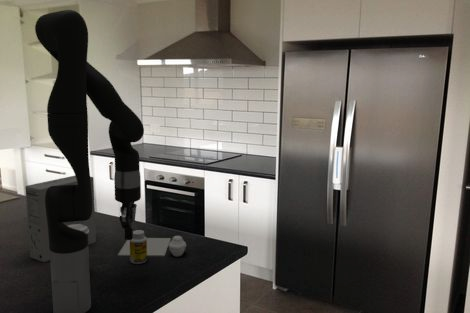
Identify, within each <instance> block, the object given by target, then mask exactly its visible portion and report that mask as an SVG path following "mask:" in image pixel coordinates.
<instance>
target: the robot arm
mask: <svg viewBox="0 0 470 313" xmlns="http://www.w3.org/2000/svg"><path fill="white" fill-rule="evenodd" d="M34 30H35V35H36V38H37V40H38V41H39V43H40V44H41V45H42V46H43V48H44V49H45V50H46V51H47V52H48V53H49V54H50V55H51V56H52V57H53V58H54V60H56V61H57V63H58V64H57V66H58V67H57V74H56V77H55V81H54V84H53V86H52V88H51V91H50V94H49V97H48V101H47V106H46V113H47V114H46V116H47V131H48V132H47V133H48V135H49V137H50V139H51V140H52V141H53V144H54V145H55V146H56V147H57V149H58V150H59V151H60V153H61V154H62V155H63V156H64V157H65V159H66V160H67V162H68V163H69V165H70V166H71V169H72V170H73V173H74V176H76V179H77V183H78V185H59V186H51V187H49V188H48V189H47V191H46V194H45V208H46V216H47V224H48V235H49V250H50V260H49V265H50V277H51V278H50V280H51V293H52V297H51V298H52V310H53V313H87V312H88V311H89V310H90V309H91V307H92V300H91V299H92V297H91V281H90V280H91V279H90V276H91V275H90V260H89V259H90V257H89V245H88V236H87V234H86V233H85V232H83V231H80V230H76V229H73V228H70V227H68V226H66V225H65V224H64V223H63V222H74V221H85V220H88V219H90V217H91V215H92V191H91V181H90V177H91V173H90V172H91V171H90V163H89V160H90V159H89V116H88V115H89V114H88V113H89V112H88V102H87V101H88V100H87V98H89V100H90V101H91V103H92V104H93V105H94V107H95V108H96V109H97V111H98V112H99V114H100V116H102V117H103V118H105V119H107V120H110V123H109V126H108V136H109V137H108V138H109V141H110V145H111V148H112V152H113V154H114V177H113V178H114V200H115V201H117V203H118V202H119V203H121V206H120V209H119V210H120V213H121V214H120V215H119V218H118V219H119V222H120V226H121V228H122V229H124V240H125V241H127V240H132V238H133V231H134V225H135V221H136V214H137V206H138V205H137V204H136V203H135V202H138V201H139V200H141V198H142V189H141V186H142V185H141V184H142V182H141V178H142V177H141V171H140V152H139V151H138V150H137V149H135V148H134V147H133V146H132V143H136V142H139V141H140V140H142V139H143V137H144V133H145V128H144V125H143V122H142V120H141V119H140V117H139V116H138V115H137V114H136V113H135V111H133V110H132V109H131V108H130V107H129V106H128V105H127V104H126V103H125V102H124V101H123V99H122V98H121V95H120V94H119V93H118V91H117V89H116V88H115V87H114V85H113V84H112V83H111V82H110V80H109V79H108V78H107V77H106V76H104V74H103V73H101V72H100V71H99V70H98V69H97V68H95V67H94V66H93V65H92V64H91V63H89V62H88V49H89V48H88V47H89V30H88V25H87V23H86V20H85V19H84V17H83V16H82V15H81V14H80V13H79V12H77V11H76V10H73V9H64V10H59V11H53V12H49V13H46V14H45V13H44V14H43V15H41V16H39V18H38V19H37V20H36V22H35V26H34Z"/></svg>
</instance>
